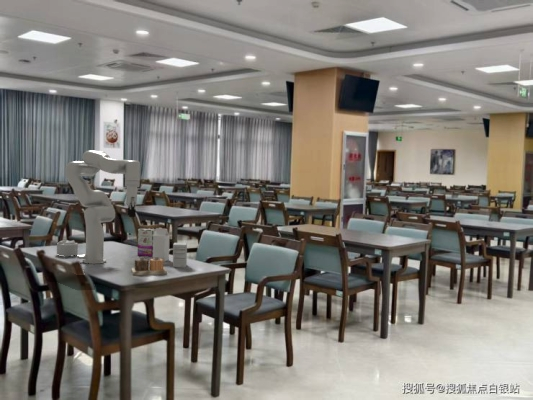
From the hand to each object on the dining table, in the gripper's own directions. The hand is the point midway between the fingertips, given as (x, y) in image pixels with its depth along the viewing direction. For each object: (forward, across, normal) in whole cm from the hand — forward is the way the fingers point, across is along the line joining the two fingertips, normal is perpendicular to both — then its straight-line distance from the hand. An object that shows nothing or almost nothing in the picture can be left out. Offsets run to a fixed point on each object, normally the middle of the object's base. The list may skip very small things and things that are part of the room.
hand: (131, 216), depth 282 cm
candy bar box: (+28, -40, +13) cm, 51 cm away
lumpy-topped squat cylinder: (+29, -48, -34) cm, 65 cm away
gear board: (+28, +11, +8) cm, 32 cm away
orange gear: (+27, +11, +12) cm, 31 cm away
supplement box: (+28, -4, +27) cm, 39 cm away
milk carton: (+28, -22, +19) cm, 41 cm away
